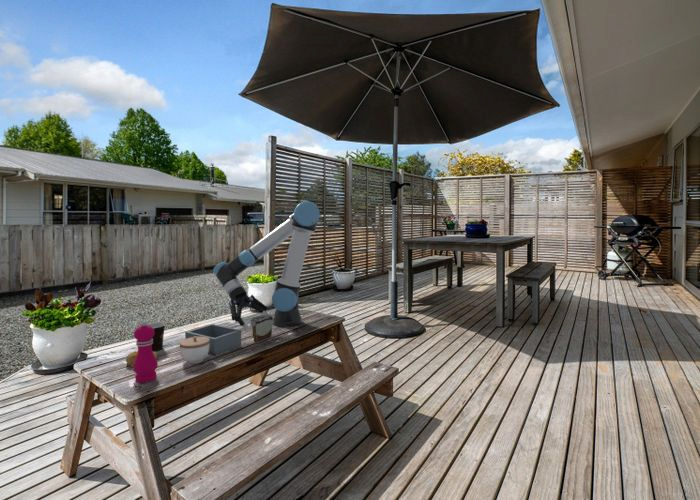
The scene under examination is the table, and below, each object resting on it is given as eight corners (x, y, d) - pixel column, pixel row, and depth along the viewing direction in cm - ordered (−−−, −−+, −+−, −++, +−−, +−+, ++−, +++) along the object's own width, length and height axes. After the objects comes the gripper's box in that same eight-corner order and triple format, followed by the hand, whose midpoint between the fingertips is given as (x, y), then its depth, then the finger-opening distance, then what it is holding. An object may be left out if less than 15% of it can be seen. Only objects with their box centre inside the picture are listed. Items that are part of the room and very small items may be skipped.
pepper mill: (128, 381, 121) (126, 322, 120) (147, 373, 128) (145, 317, 127) (144, 385, 119) (142, 325, 117) (162, 376, 126) (160, 319, 124)
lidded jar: (175, 361, 139) (174, 337, 139) (201, 353, 148) (201, 330, 147) (188, 368, 133) (187, 343, 132) (215, 359, 141) (215, 336, 140)
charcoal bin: (213, 339, 166) (212, 323, 165) (241, 345, 157) (241, 330, 156) (185, 348, 153) (185, 331, 153) (214, 356, 144) (214, 339, 144)
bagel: (163, 360, 140) (163, 348, 139) (133, 370, 131) (132, 357, 131) (151, 355, 146) (150, 343, 145) (121, 364, 137) (120, 352, 136)
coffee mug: (155, 353, 147) (154, 329, 146) (137, 351, 149) (136, 327, 148) (174, 344, 159) (174, 321, 158) (157, 342, 160) (156, 320, 159)
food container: (263, 334, 173) (263, 313, 172) (273, 336, 170) (273, 315, 169) (244, 341, 162) (244, 319, 162) (254, 344, 159) (254, 321, 158)
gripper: (251, 291, 184) (273, 325, 177) (209, 300, 162) (234, 339, 156) (258, 282, 181) (282, 315, 174) (217, 290, 159) (242, 328, 153)
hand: (259, 326), depth 165 cm, fingers open, 13 cm apart
